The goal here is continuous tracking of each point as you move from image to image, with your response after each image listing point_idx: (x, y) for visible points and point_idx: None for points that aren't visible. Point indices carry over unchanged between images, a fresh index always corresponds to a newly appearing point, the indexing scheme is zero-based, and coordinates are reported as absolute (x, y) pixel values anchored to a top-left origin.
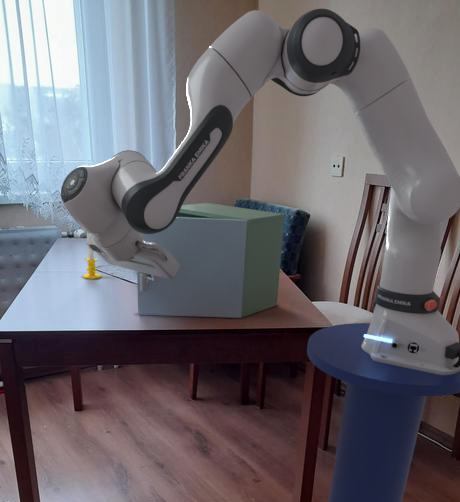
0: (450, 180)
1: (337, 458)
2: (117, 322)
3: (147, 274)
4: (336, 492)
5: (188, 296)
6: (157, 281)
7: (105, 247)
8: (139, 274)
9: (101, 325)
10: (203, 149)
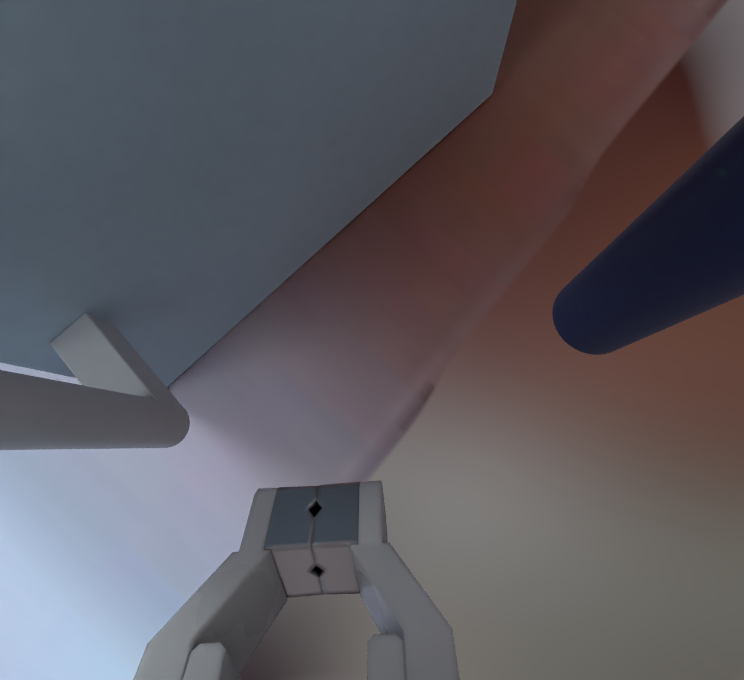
0: None
1: (721, 255)
2: (167, 545)
3: (281, 591)
4: (692, 290)
5: (312, 191)
6: (386, 530)
7: None
8: (4, 347)
9: (145, 641)
10: None
